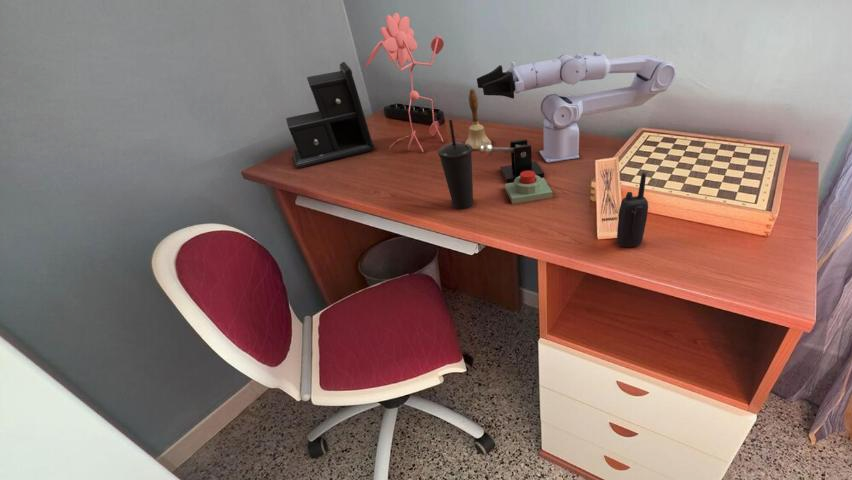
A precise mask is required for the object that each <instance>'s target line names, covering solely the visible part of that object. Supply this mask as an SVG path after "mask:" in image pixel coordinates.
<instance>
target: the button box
mask: <svg viewBox="0 0 852 480" xmlns="http://www.w3.org/2000/svg"><path fill="white" fill-rule="evenodd" d="M504 189H505V191H506V193H507V196H508V198H509V200H510V202H511V204H512V205H514V204H515V205H516V204H521V203H527V202H532V201H538V200H545V199H550V198H553V197H554V196H553V193H554V192H553V191H552V189H551V187H550V185H549V184H548V182H547V181H546V179H545V177H544V178H540V177H539V176H537V175H535V183H533V184H522V183H521V182H520V176H519V177H516V179H515V180H514V182H512V183H505V184H504Z"/></svg>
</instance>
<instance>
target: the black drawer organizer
mask: <svg viewBox="0 0 852 480" xmlns="http://www.w3.org/2000/svg"><path fill="white" fill-rule="evenodd" d="M306 80H307V83H308V85H309V88H310V90H311V93H312V95H313V98H314V101H315V104H316V107H317V111H314V112H309V113H304V114H299V115H294V116H290V117H286V118H285V120H286V124H287V128H288V130H289V133H290V135H291V137H292V140H293V142H294V144H295V147H296V149H295V150H293V151H292V152H293V154H292V155H293V160H294V164H295V167H296V169H302V168H307V167H309V166H313V165H314V166H315V165H318V164H322V163H326V162H331V161H334V160H338V159H342V158H347V157H351V156H354V155H359V154H363V153H368V152H372V151H375V146H374V143H373V140H372V137H371V133H370V130H369V126H368V123H367V119H366V117H365V112H364V109H363V107H362V102H361V100H360V97H359V96H360V95H359V93H358V89H357V86H356V82H355V79H354V76H353V71H352V69H351V67H350V66H348V64H347V63H346V62H345V61H342V62H341V63H340V64H339V71H333V72H326V73H322V74H316V75H311V76H307V77H306Z"/></svg>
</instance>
